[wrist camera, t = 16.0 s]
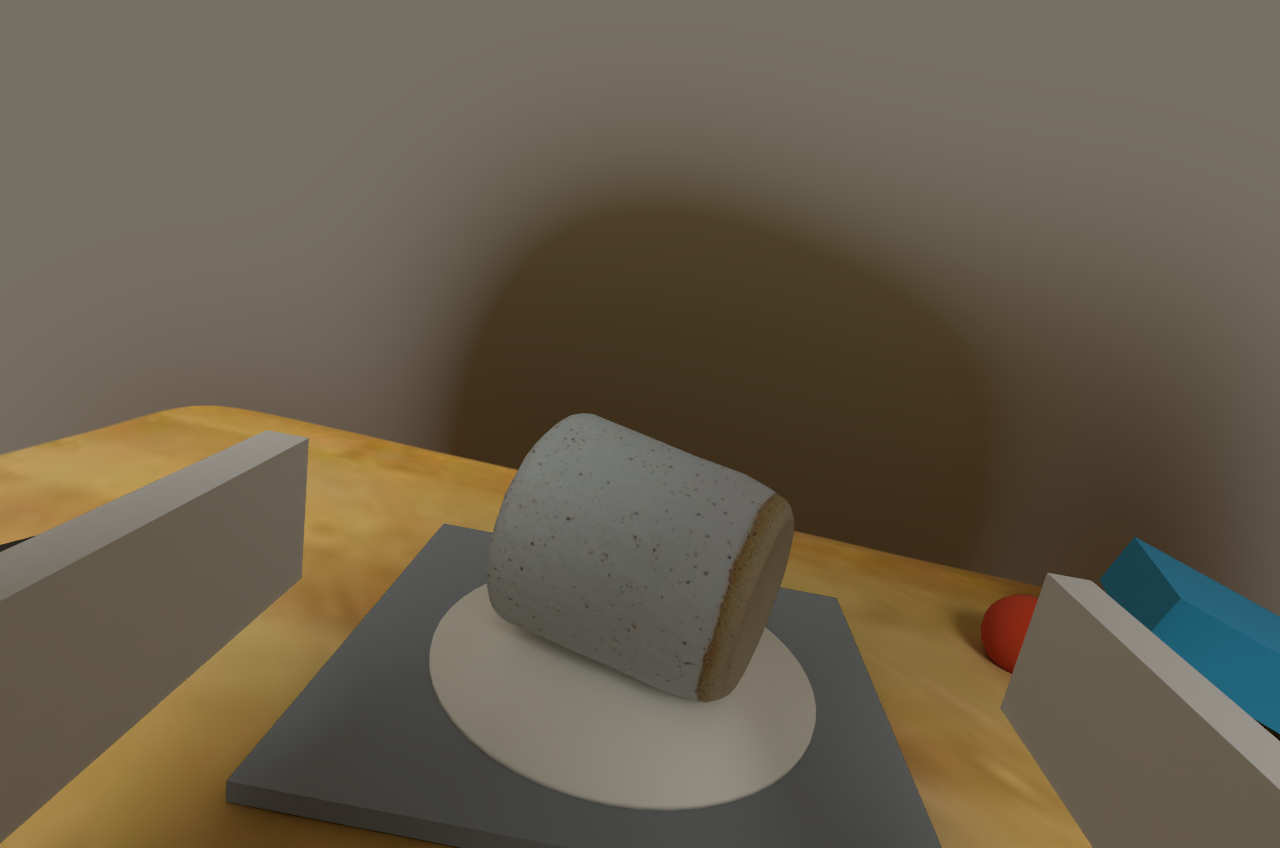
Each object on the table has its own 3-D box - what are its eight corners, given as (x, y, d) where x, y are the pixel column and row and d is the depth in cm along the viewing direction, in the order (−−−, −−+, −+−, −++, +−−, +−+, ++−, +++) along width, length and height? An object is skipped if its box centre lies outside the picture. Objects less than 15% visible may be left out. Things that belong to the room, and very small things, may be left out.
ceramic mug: (707, 768, 20) (769, 512, 18) (466, 658, 23) (499, 427, 21) (787, 617, 30) (833, 440, 28) (610, 553, 32) (642, 388, 31)
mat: (833, 610, 33) (837, 594, 32) (968, 947, 17) (977, 920, 17) (442, 535, 33) (444, 519, 33) (225, 801, 17) (226, 773, 17)
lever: (1366, 857, 30) (962, 609, 35) (1504, 740, 28) (1051, 491, 32) (1477, 1006, 24) (966, 681, 28) (1667, 872, 21) (1078, 540, 26)
